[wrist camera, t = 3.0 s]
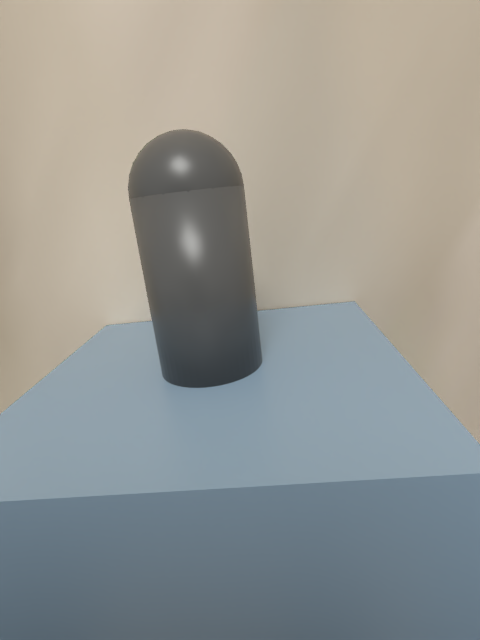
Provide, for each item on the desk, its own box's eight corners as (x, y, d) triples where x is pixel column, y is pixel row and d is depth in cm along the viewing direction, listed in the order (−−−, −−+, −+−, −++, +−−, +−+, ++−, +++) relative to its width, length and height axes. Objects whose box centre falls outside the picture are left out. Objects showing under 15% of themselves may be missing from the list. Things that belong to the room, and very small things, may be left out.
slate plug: (364, 629, 10) (453, 1003, 6) (176, 634, 11) (106, 986, 6) (349, 133, 7) (548, -8, 2) (71, 170, 7) (-290, 121, 3)
